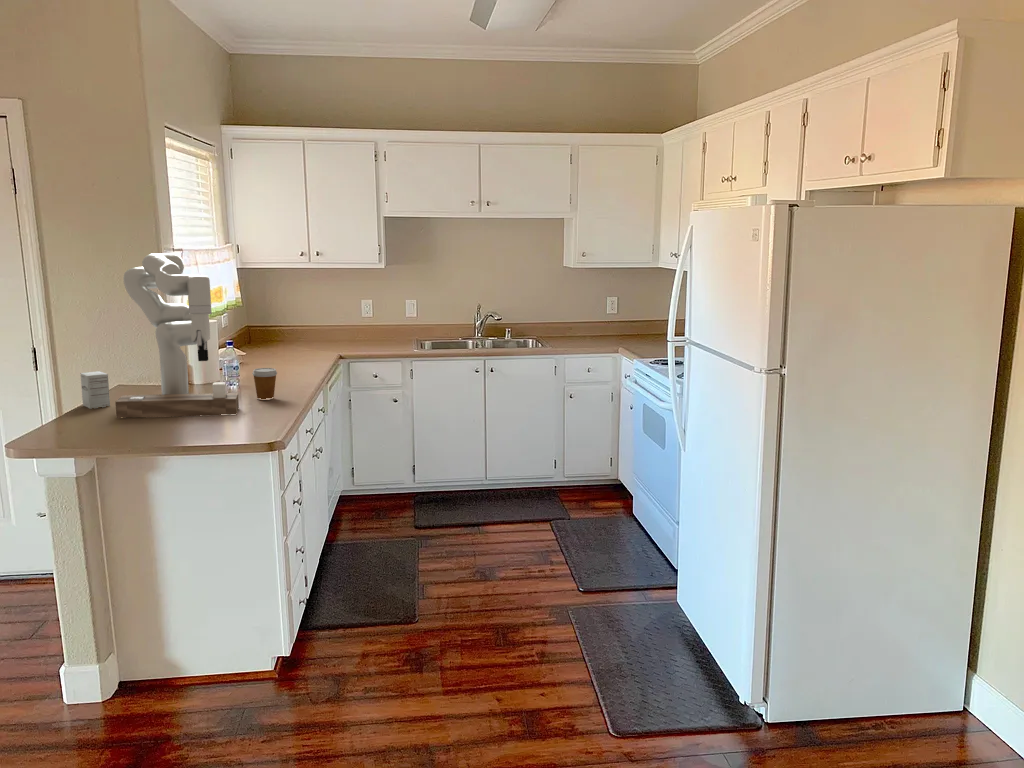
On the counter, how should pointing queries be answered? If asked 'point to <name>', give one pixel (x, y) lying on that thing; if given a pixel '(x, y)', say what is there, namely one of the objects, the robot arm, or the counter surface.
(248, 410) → the counter surface
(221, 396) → the white peg
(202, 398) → the walnut block
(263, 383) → the disposable coffee cup
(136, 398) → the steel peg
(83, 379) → the supplement box
